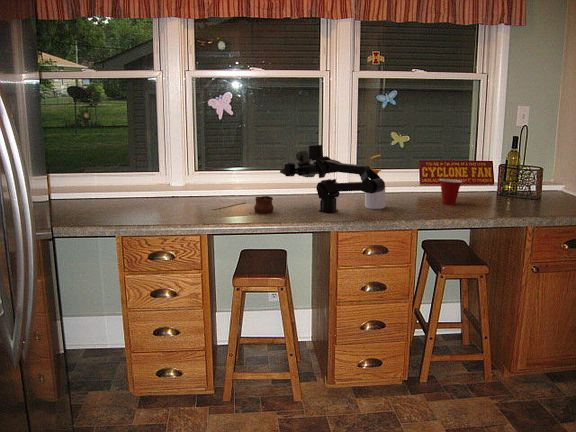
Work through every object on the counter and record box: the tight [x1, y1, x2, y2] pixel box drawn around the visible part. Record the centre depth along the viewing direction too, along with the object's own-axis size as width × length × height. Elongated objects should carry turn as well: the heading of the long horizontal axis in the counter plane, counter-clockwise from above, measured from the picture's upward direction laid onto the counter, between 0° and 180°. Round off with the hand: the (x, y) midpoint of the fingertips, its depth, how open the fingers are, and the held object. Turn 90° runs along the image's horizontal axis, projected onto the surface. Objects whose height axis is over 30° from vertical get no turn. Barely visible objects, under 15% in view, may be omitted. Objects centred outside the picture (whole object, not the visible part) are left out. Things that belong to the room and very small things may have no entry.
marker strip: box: [211, 201, 247, 211], centre depth 256 cm, size 1×22×1 cm, turn 143°
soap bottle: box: [364, 154, 386, 210], centre depth 252 cm, size 9×9×25 cm
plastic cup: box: [439, 178, 463, 206], centre depth 264 cm, size 11×11×12 cm
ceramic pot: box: [253, 195, 275, 215], centre depth 243 cm, size 18×18×7 cm
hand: (286, 171), depth 259 cm, fingers open, 9 cm apart
